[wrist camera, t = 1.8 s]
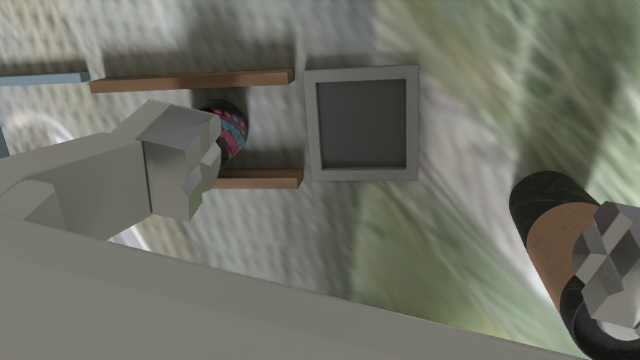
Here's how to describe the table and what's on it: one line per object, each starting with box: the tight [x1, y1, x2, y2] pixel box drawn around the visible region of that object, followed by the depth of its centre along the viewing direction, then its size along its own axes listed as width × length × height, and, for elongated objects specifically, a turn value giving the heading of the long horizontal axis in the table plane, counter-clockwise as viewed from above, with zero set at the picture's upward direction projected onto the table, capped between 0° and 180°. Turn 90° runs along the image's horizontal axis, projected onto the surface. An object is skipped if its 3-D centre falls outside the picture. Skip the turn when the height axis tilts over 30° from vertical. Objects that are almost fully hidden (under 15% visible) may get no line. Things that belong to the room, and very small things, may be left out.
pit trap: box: [303, 64, 419, 181], centre depth 48 cm, size 12×12×1 cm
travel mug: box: [509, 171, 640, 360], centre depth 39 cm, size 8×8×20 cm
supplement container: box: [193, 100, 248, 169], centre depth 46 cm, size 7×7×10 cm
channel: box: [89, 68, 303, 189], centre depth 50 cm, size 12×22×3 cm, turn 94°
